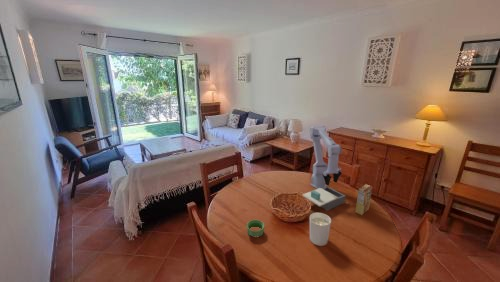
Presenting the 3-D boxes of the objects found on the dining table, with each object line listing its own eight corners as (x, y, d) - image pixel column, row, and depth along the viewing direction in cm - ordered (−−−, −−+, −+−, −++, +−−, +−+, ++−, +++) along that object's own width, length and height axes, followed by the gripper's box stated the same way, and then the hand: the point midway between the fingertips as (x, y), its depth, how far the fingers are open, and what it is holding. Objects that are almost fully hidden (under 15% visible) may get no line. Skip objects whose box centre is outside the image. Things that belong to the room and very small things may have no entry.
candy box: (361, 206, 131) (365, 183, 126) (369, 209, 127) (372, 186, 123) (354, 212, 125) (358, 188, 121) (362, 215, 122) (365, 191, 118)
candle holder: (326, 250, 98) (328, 228, 95) (305, 242, 103) (306, 220, 100) (331, 237, 106) (333, 216, 103) (311, 230, 111) (312, 210, 108)
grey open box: (309, 199, 139) (310, 193, 137) (326, 193, 146) (327, 186, 145) (327, 210, 127) (327, 203, 126) (344, 202, 135) (345, 195, 133)
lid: (302, 195, 134) (302, 189, 133) (320, 188, 142) (320, 182, 140) (319, 206, 122) (320, 199, 121) (338, 198, 130) (338, 191, 129)
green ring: (248, 239, 106) (248, 232, 105) (245, 227, 114) (245, 220, 113) (266, 237, 107) (266, 229, 106) (261, 225, 116) (261, 218, 115)
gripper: (330, 168, 127) (328, 188, 131) (346, 163, 134) (343, 182, 138) (321, 164, 133) (319, 184, 137) (336, 159, 140) (334, 178, 144)
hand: (331, 183), depth 138 cm, fingers open, 7 cm apart
